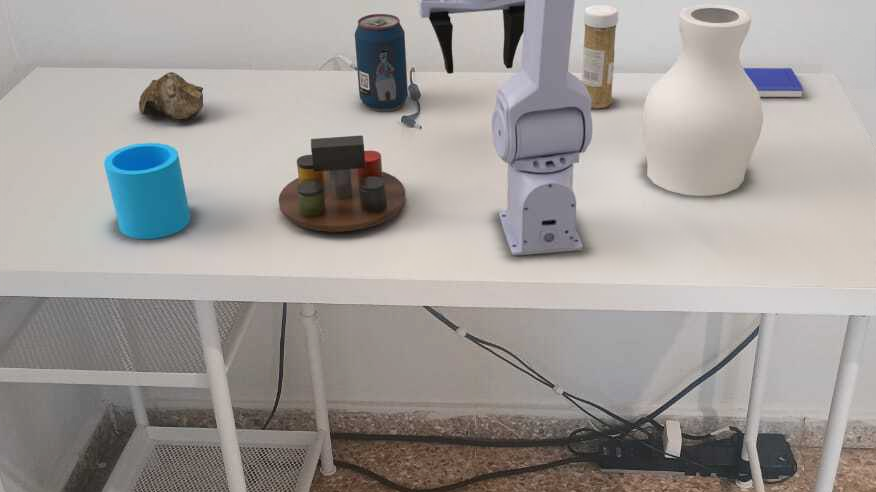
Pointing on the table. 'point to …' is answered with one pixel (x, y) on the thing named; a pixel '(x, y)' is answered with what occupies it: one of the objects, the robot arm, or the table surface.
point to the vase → (704, 107)
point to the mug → (147, 190)
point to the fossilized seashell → (171, 98)
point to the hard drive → (775, 82)
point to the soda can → (381, 62)
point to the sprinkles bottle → (599, 53)
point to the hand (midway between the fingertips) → (478, 68)
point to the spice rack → (341, 188)
